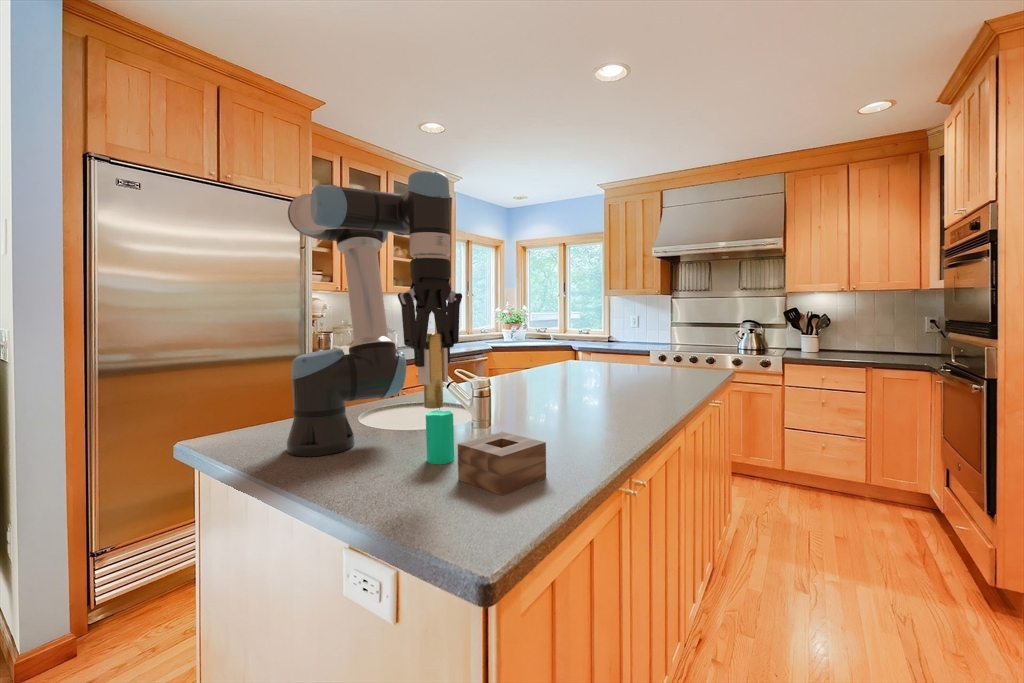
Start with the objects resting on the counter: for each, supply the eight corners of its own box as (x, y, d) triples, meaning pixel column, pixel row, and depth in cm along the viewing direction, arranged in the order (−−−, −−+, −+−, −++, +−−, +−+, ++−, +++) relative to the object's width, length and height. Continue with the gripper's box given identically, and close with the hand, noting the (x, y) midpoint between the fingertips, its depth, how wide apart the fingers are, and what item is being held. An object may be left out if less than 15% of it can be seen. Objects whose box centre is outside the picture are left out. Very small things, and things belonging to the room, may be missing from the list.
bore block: (458, 479, 93) (457, 443, 93) (502, 464, 102) (502, 431, 102) (502, 495, 85) (501, 456, 85) (546, 477, 94) (545, 442, 93)
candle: (449, 464, 102) (447, 408, 102) (422, 463, 104) (421, 408, 103) (458, 456, 108) (456, 403, 107) (432, 455, 109) (431, 402, 109)
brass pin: (420, 406, 93) (418, 333, 92) (435, 403, 95) (434, 332, 94) (431, 409, 90) (430, 334, 89) (447, 406, 93) (445, 333, 92)
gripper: (403, 253, 82) (407, 390, 84) (477, 259, 94) (478, 379, 96) (380, 257, 87) (384, 385, 89) (452, 262, 99) (454, 375, 101)
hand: (433, 382), depth 92 cm, fingers closed on brass pin, 3 cm apart
